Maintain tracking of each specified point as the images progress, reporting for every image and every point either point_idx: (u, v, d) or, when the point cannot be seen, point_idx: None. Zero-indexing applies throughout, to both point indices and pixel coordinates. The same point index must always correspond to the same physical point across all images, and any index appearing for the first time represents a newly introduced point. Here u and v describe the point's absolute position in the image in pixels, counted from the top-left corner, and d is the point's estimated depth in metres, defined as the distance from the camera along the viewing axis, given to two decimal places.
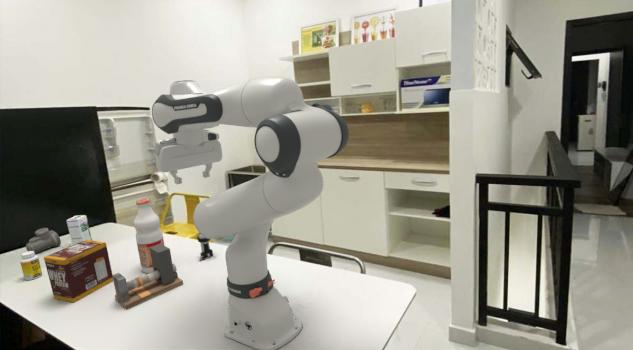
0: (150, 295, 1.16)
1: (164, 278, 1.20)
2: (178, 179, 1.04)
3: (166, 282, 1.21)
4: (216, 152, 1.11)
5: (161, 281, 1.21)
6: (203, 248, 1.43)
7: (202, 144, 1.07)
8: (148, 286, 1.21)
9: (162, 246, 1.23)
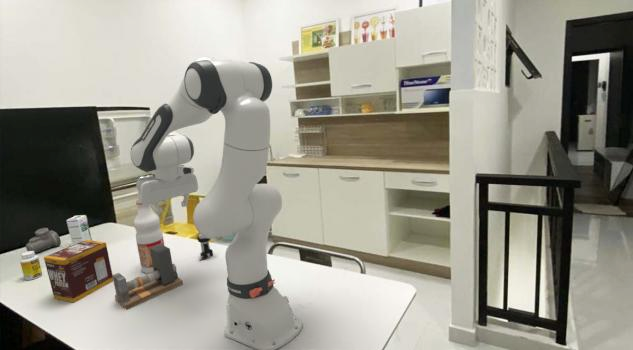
0: (150, 295, 1.16)
1: (164, 278, 1.20)
2: (159, 210, 1.19)
3: (166, 282, 1.21)
4: (192, 183, 1.26)
5: (161, 281, 1.21)
6: (203, 248, 1.43)
7: (178, 178, 1.22)
8: (148, 286, 1.21)
9: (162, 246, 1.23)
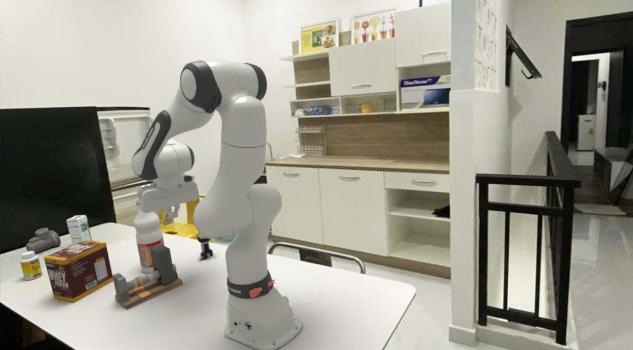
0: (150, 295, 1.16)
1: (164, 278, 1.20)
2: (171, 214, 1.23)
3: (166, 282, 1.21)
4: (193, 191, 1.27)
5: (161, 281, 1.21)
6: (203, 248, 1.43)
7: (179, 186, 1.23)
8: (148, 286, 1.21)
9: (162, 246, 1.23)
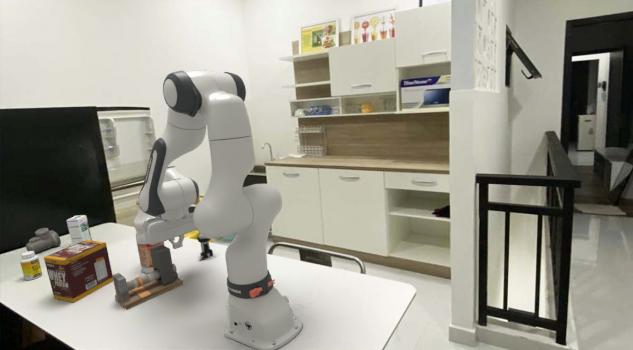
0: (150, 295, 1.16)
1: (164, 278, 1.20)
2: (175, 245, 1.25)
3: (166, 282, 1.21)
4: None
5: (161, 281, 1.21)
6: (203, 248, 1.43)
7: (184, 217, 1.25)
8: (148, 286, 1.21)
9: (162, 246, 1.23)
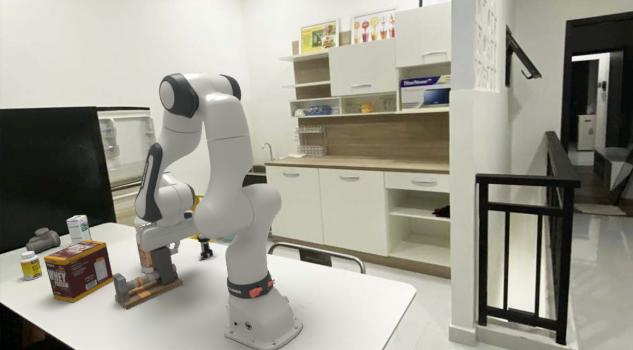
0: (150, 295, 1.16)
1: (164, 278, 1.20)
2: (171, 251, 1.24)
3: (166, 282, 1.21)
4: (193, 227, 1.28)
5: (161, 281, 1.21)
6: (203, 248, 1.43)
7: (179, 223, 1.24)
8: (148, 286, 1.21)
9: None
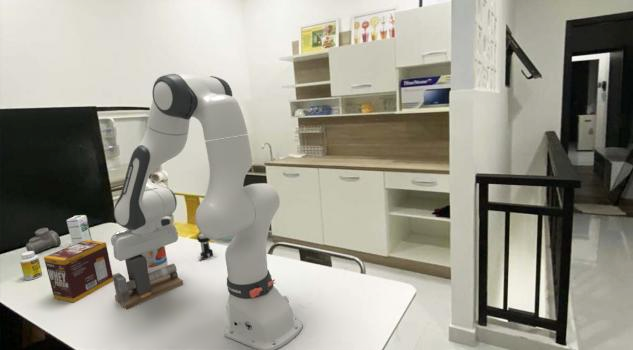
0: (150, 295, 1.16)
1: (139, 288, 1.14)
2: (148, 260, 1.18)
3: (142, 293, 1.15)
4: (171, 234, 1.23)
5: (136, 292, 1.15)
6: (203, 248, 1.43)
7: (156, 230, 1.18)
8: None
9: (138, 255, 1.17)
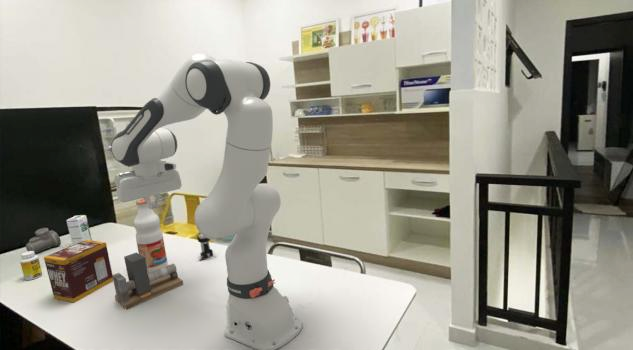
0: (150, 295, 1.16)
1: (139, 289, 1.14)
2: (151, 204, 1.17)
3: (141, 293, 1.15)
4: (175, 180, 1.22)
5: (136, 292, 1.15)
6: (203, 248, 1.43)
7: (160, 174, 1.17)
8: None
9: (137, 255, 1.17)
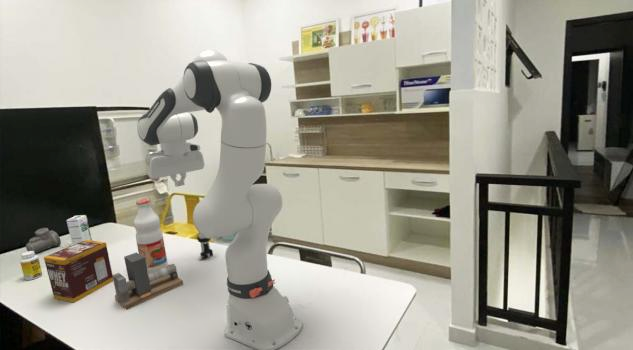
0: (150, 295, 1.16)
1: (139, 289, 1.14)
2: (177, 182, 1.28)
3: (141, 293, 1.15)
4: (199, 160, 1.32)
5: (136, 292, 1.15)
6: (203, 248, 1.43)
7: (186, 154, 1.28)
8: None
9: (137, 255, 1.17)
